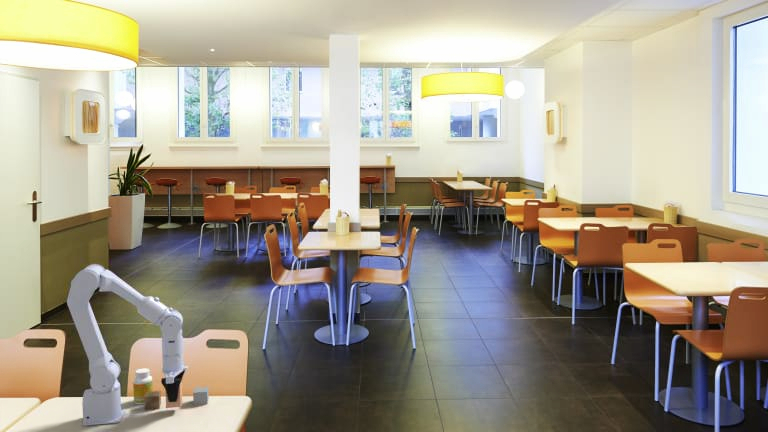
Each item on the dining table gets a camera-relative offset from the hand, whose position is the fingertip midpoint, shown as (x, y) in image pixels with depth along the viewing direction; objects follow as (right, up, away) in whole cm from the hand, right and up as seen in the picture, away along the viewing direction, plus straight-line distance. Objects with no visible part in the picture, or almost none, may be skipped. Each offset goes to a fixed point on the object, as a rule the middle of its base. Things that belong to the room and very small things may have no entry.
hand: (174, 398), depth 163 cm
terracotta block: (0, -2, 0) cm, 2 cm away
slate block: (+6, -3, +7) cm, 9 cm away
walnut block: (-8, -4, +3) cm, 9 cm away
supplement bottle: (-12, -4, +7) cm, 15 cm away
